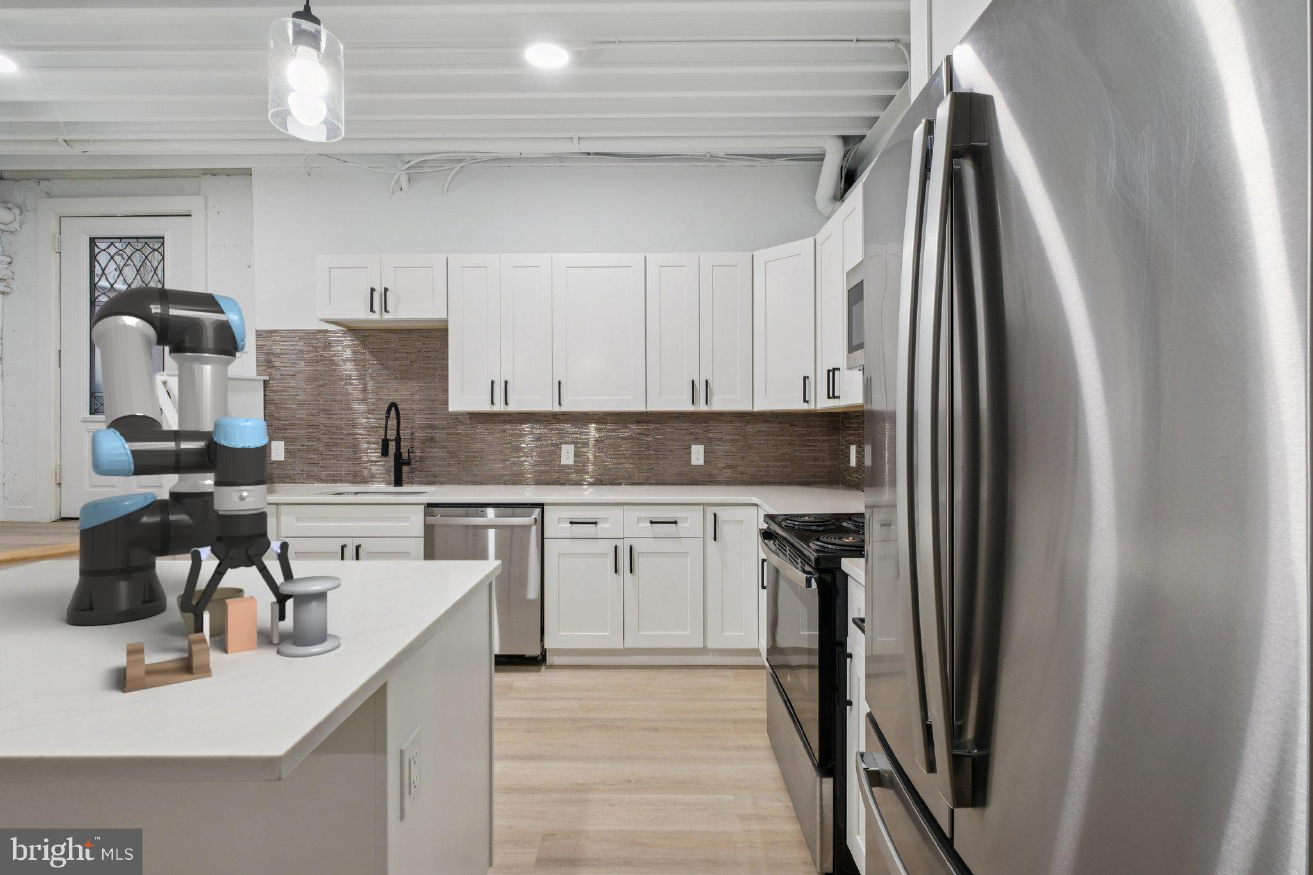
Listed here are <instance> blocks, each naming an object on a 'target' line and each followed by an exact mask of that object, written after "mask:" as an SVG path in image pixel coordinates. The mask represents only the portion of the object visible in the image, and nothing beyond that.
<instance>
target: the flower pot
mask: <svg viewBox="0 0 1313 875" xmlns="http://www.w3.org/2000/svg"><path fill="white" fill-rule="evenodd" d="M203 590H204V588H201V589H195V592H194V596H193V600H192V603H191V604H196V602H197V601H198V599H199V597H200V595H201V594H202V592H203ZM182 596H183V592H182V593H180V594H177V595H176V604H177V607H178V611H179V613H180V616H181V618H182V621H183V622H184V625H185V626H186V628H187V630H188V631H189V632H190V634H195V632H194V615H193V614H192V613H183V612H181V609H180V603H181V600H182ZM244 596H245V589H244V588H243V587H236V586H235V587H234V586H226V587H224V586H223V587H219V586H218V587H217V589H216V591H215V592H214V594H213V596H212V598H211V600H210V601H209V603H208V605H207V607H206V608H205V610H204V611H208V612H209V638H210V637H217V636H220V635H223V634H225V600H227V599H234V598H242V597H244Z"/></svg>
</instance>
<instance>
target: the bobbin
mask: <svg viewBox="0 0 1313 875" xmlns="http://www.w3.org/2000/svg"><path fill="white" fill-rule="evenodd" d="M278 586H279V592H280V593H283V594H293V598H292V607H293V608H292V628H293V629H292V630H293V631H292V638H289V639H287V640H284V641H282V642H280V643H279V645H278V654H279V655H281V656H283V657H286V658H287V657H288V658H306V657H314V656H320V655H324V654H327V653H330V652H333V651H335V650H337V649H339V648H340V647H341V637H340V636H339V635H338V634H332V633H328V592H329V591H334V590H336V589H338V588H340V587H341V578H340V577H339V576H334V575H333V576H332V575H314V576H313V575H312V576H305V577H304V576H303V577H298V578H294V579H291V580H287V581H284V580H283V581H282V582H280V583H279V584H278Z"/></svg>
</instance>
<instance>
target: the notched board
mask: <svg viewBox="0 0 1313 875" xmlns="http://www.w3.org/2000/svg"><path fill="white" fill-rule="evenodd" d="M125 647H126V649H125V651H126V656H125V657H126V660H125V661H126V662H125V663H126V664H125V665H126V667H124V671H123V673H124V674H123V693H125V694H126V693H130V692H134V691H135V692H136V691H139V690H140V691H141V690H145V689H146V690H147V689H151V688H156V687H157V688H158V687H161V686H162V687H163V686H167V685H172V684H178V683H182V682H188V681H194V680H198V679H204V678H209V677H210V678H211V677H213V671H212V669H211V665H210V664H211V654H210V653H211V652H210V650H211V649H210V644H209V645H208V643H207V640H206V637H205V635H204V632H202V633H196V634H192V633H190V634H187V656H186V657H181V658H175V659H169V660H164V661H163V660H162V661H158V662H151V663H146V658H145V655H146V654H145V644H144V641H140V642H132V643H127V644H126V646H125Z"/></svg>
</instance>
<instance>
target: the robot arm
mask: <svg viewBox="0 0 1313 875" xmlns="http://www.w3.org/2000/svg"><path fill="white" fill-rule="evenodd" d="M90 326H91V328H90V331H91V339H92V341H93V344H94V345H95V347H97V349H99V354H100V368H101V369H100V370H101V381H102V383H101V384H102V396H103V398H102V399H103V409H104V424H105V429H96V430H94V431H93V432H92V434H91V448H90V449H91V453H90V454H91V469H92V472H93V473H94V474H95V475H98V476H102V477H126V478H130V477H139V476H160V475H161V476H162V475H177V482H175V483H174V484H173V485H172V486H171V487H170V488H168V498H157V497H158V496H157V495H156V493H155V492H153V491H152V492H151V491H150V492H140V493H139V492H138V493H137V492H136V493H129V494H122V495H121V494H120V495H115V496H109V497H104V498H98V499H94V500H91V501H89V502H87V503H84V504H83V505H82V506H81V507H80V509H79V516H78V517H79V519H78V520H79V521H78V526H77V531H79V538H78V539H79V541H78V542H79V547H78V548H79V550H78V553H79V554H78V582H77V584H76V586H75V588H74V592H73V594H72V597H71V599H70V601H69V604H68V607H67V609H66V623H67V624H70V625H76V626H99V625H110V624H118V623H123V622H124V623H125V622H130V621H131V622H132V621H135V620H141V619H145V618H149V617H153V616H155V615H157V614H161V613H163V612H165V611H166V610H167V609H168V605H167V604H168V599H167V595H166V593H165V590H164V587H163V585H162V582H161V580H160V578H159V576H158V573H157V565H156V564H157V558H161V557H162V558H163V557H172V556H181V555H182V556H183V555H190V561H191V563H190V566H189V571H188V574H187V578H186V582H185V585H184V588H183V592H182V593H183V596H182V600H181V603H180V609H181V612H183V613H192V614H193V615H194V632H195V634H196V633H202V632H204V635H205V637H206V640H207V643H208V645H209V646H210V637H209V612H208V611H204V610H205V608H206V607H207V605H208V603H209V601H210V600H211V598H212V596H213V594H214V592H215V591H216V589H217V588H219V585H221V584H220V583H221V581H222V580H223V578H224V577H225V575H226V574H227V572H228V570H229V569H230V570H234V569H235V570H237V569H239V568H253V567H254V566H255V568H256V570H257V571H258V573H259V574H260V577H261V578H262V579H263V581H264V582H265V585H267V587H268V589H269V591H270V593H271V594H272V595H273V597H274V599H275V600H276V601H271V602H270V641H271V643H272V644H274V645H275V644H280V636H279V635H280V633H279V632H280V630H279V629H280V627H279V626H280V625H279V623H280V622H285V620H286V618H287V616H286V615H287V609H286V608H287V607H286V605H287V602H288V601H289V600H291V599H293V594H283V593H280V592H279V584H278V583H277V582H276V580H275V578H274V576H273V575H272V573H271V572H270V570H269V568H268V567H267V564H265V561H264V560H263V557H264V556H265V555H266V553H267V552H268V551H269V549H270V548H272V551H273V553H274V554H276V555H277V560H278V563H279V566H280V570H281V574H282V577H283V582H284V581H287V580H291V579H295V578H294V573H293V569H292V566H291V563H290V559H289V555H288V553H289V547H290V544H289V542H288V541H286V540H285V539H281V540H279V541H278V540H271V539H269V536H268V512H267V511H266V510H264V509H266V508H267V507H268V442H269V436H268V428H267V426H268V425H267V422H266V420H264V419H263V418H260V417H259V418H258V417H228V416H229V414H228V413H229V412H228V409H229V407H228V406H229V404H228V403H229V402H228V401H229V400H228V391H229V389H228V385H229V384H228V383H229V382H228V377H229V375H228V374H229V373H228V372H229V371H228V370H229V366H231V365H233V363H234V362H236V360H237V353H241V352H244V350H245V348H246V339H247V338H246V336H247V335H246V325H245V319H244V314H243V311H242V309H241V306H240V305H239V303H238V301H237V300H235V298H233V297H230V296H226V295H220V294H216V293H213V292H212V293H211V292H210V293H209V292H201V291H193V290H192V291H191V290H183V289H182V290H181V289H175V288H174V289H173V288H165V287H164V288H163V287H158V286H149V285H144V286H134V287H131V288H127V289H124V290H123V291H119V292H118V293H115V294H114V295H112V296H111V297H110V298H108V299H107V300H106V301H104V302H103V303H102V304H101V305H99V308H98V309H97V310H96V311H95V313H94V316H93V318H92V320H91V325H90ZM155 346H157V347H166V348H167V347H168V357H169V358H170V359H171V360H172V361H174V362H175V363H176V364H177V386H178V387H177V429H163V428H164V427H163V420H162V419H163V418H162V413H161V405H160V400H159V399H160V398H159V391H158V390H159V389H158V384H157V377H156V370H155V362H154V356H153V349H154V347H155ZM210 554H212V555H213V556H214V557H215V558H216V559H217V560H218V563H217V565H216V566H215V569H214V571H213V573H212V574H211V576H210V578H209V580H208V581H207V583H206V585H205V587H204V588H203V589H204V590H203V592H202V594H201V595H200V597H199V599H198V601H197V602H196V604H191V603H192V600H193V596H194V592H195V590H197V584H198V580H199V578H200V573H201V570H202V566H203V562H205V561H207V559H208V556H209V555H210Z"/></svg>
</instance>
